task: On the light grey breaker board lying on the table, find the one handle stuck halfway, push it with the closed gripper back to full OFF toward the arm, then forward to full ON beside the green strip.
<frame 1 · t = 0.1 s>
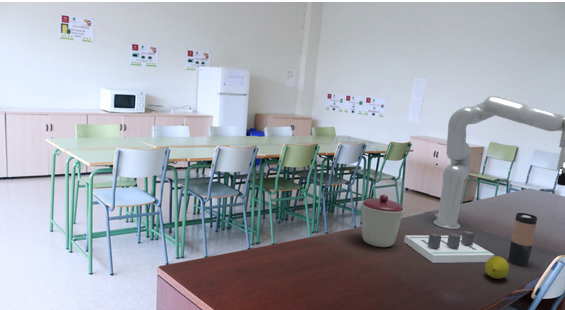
hand: (561, 183, 197), 31 cm above the table, tool pointing down, fingers open, 9 cm apart
breaker panel: (447, 251, 189), on the table
canister: (377, 243, 191), on the table
travel mug: (517, 263, 184), on the table
lemon: (494, 278, 166), on the table
breaker 1: (434, 240, 183), point 6 cm above the table, slide at 6.0 cm
breaker 2: (453, 240, 185), point 6 cm above the table, slide at 6.0 cm
breaker 3: (467, 238, 190), point 6 cm above the table, slide at 3.0 cm
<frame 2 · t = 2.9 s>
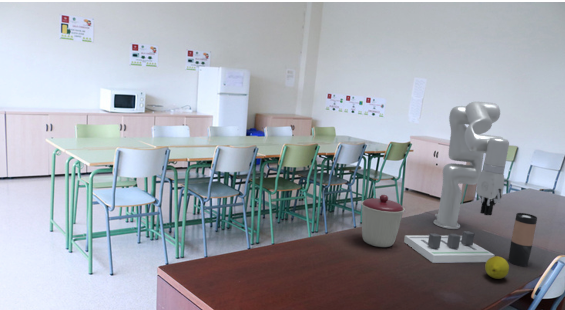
hand: (485, 213, 181), 19 cm above the table, tool pointing down, fingers closed
nothing on the table moved.
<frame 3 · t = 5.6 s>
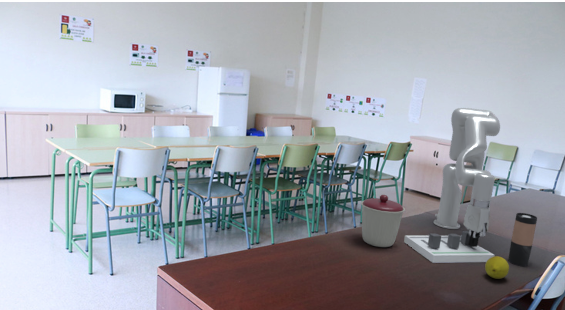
hand: (472, 245, 187), 4 cm above the table, tool pointing down, fingers closed
breaker 3: (466, 237, 191), point 6 cm above the table, slide at 2.4 cm, touching gripper
everything else where it was.
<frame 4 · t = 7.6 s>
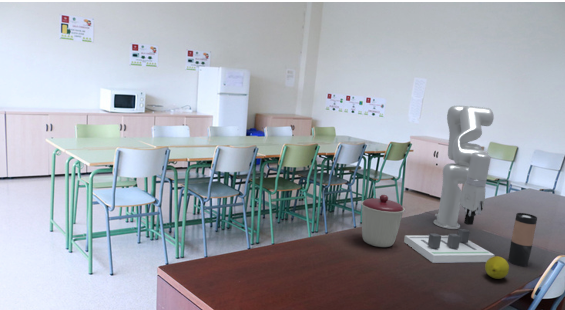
hand: (468, 224, 191), 12 cm above the table, tool pointing down, fingers closed
breaker 3: (463, 235, 193), point 6 cm above the table, slide at -0.1 cm
everything else where it was.
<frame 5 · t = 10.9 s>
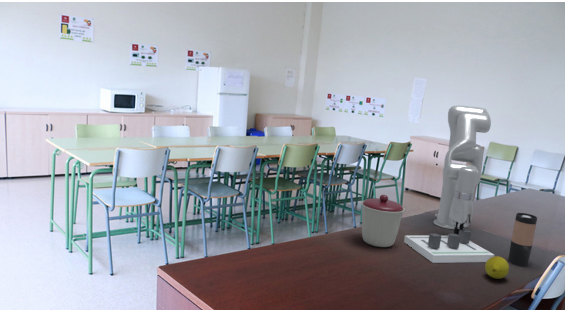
hand: (457, 236, 197), 4 cm above the table, tool pointing down, fingers closed
breaker 3: (464, 236, 193), point 6 cm above the table, slide at 0.6 cm, touching gripper
everything else where it was.
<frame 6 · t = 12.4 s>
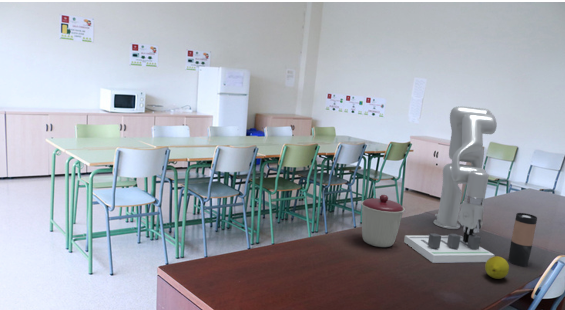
hand: (467, 242, 191), 4 cm above the table, tool pointing down, fingers closed
breaker 3: (474, 241, 187), point 6 cm above the table, slide at 7.1 cm, touching gripper
everything else where it was.
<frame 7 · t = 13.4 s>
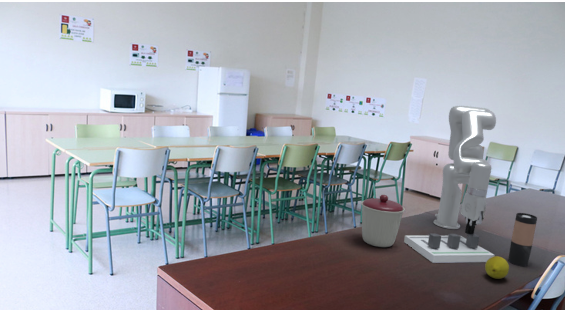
hand: (469, 233, 190), 8 cm above the table, tool pointing down, fingers closed
breaker 3: (472, 240, 187), point 6 cm above the table, slide at 6.1 cm
everything else where it was.
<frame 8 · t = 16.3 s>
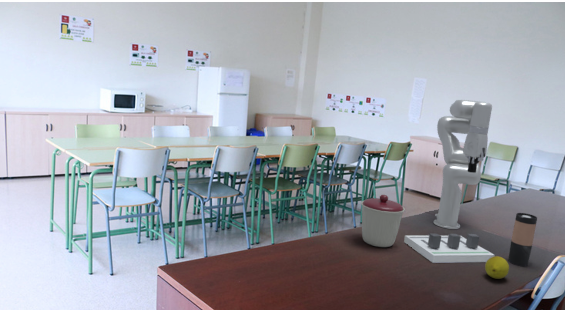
hand: (471, 172, 199), 32 cm above the table, tool pointing down, fingers closed
nothing on the table moved.
at the end: breaker 3 slide at 6.1 cm; breaker 2 slide at 6.0 cm; breaker 1 slide at 6.0 cm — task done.
